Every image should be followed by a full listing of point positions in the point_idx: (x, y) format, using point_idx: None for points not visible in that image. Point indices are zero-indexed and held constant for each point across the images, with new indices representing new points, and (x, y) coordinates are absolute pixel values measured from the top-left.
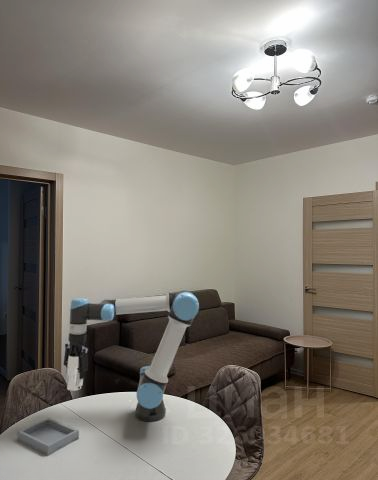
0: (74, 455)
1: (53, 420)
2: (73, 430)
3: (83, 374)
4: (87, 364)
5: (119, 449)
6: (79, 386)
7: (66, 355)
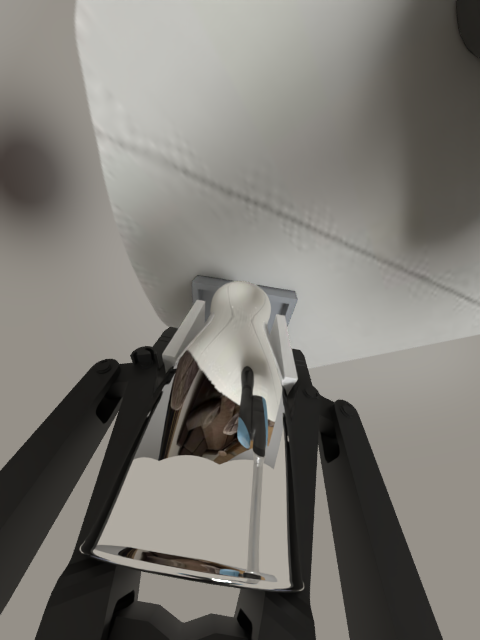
0: (317, 331)
1: (212, 287)
2: (285, 302)
3: (306, 373)
4: (372, 462)
5: (406, 289)
6: (269, 316)
7: (69, 494)
